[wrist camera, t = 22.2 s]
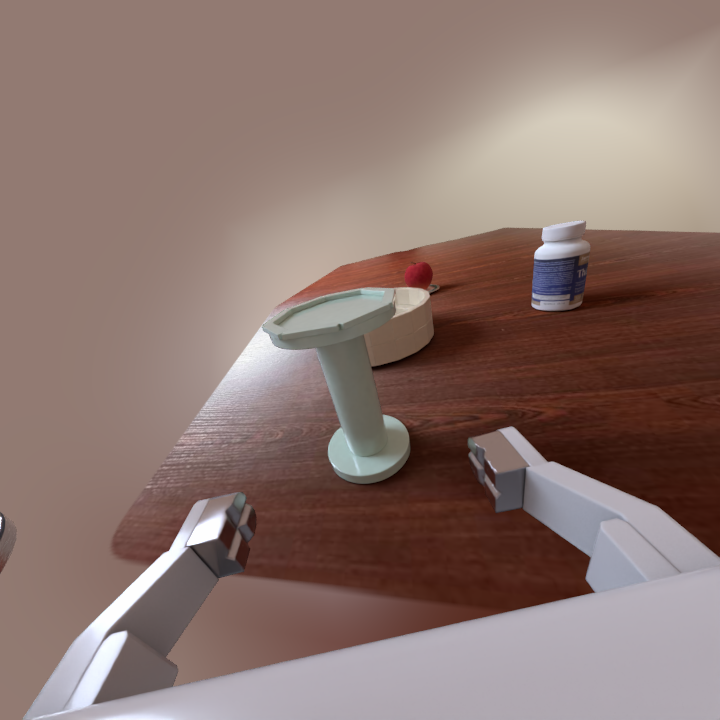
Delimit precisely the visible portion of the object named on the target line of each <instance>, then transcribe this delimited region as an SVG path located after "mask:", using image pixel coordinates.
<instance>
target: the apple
mask: <svg viewBox="0 0 720 720" xmlns="http://www.w3.org/2000/svg"><path fill="white" fill-rule="evenodd" d="M411 263H413V262H411ZM432 276H433V273H432V269H431V267H430V266H429V264H427V263H425V262H419V263H417V264H416V263H414V265H411V266H409V267H408V268H407V270H406V272H405V282H406V284H407V286H408V287H412V288H421V289H424V290H426V291H428V292H429V293H431V292H434V291H436V290H438V289H439V286H438V285H430V283H431V280H432Z"/></svg>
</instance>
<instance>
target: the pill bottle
mask: <svg viewBox="0 0 720 720" xmlns="http://www.w3.org/2000/svg"><path fill="white" fill-rule="evenodd" d="M585 227H586V221H573V222H567V223H561V224H556V225H552V226H548V227H545V228H543V233H542V241H544V245H543V246H541V247H540V248H538V249H537V250H536V252H535V256H534V270H533V271H534V272H533V287H532V306H533V307H534V308H535V309H538V310H542V311H564V310H570V309H573V308H576V307H578V306H580V305H581V303H582V299H583V294H584V287H585V281H586V274H587V267H588V261H589V254H590V244H589V243H588V242H587V241H584V240H582V239H581V237H582V235H584V232H585Z"/></svg>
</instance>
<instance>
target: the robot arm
mask: <svg viewBox="0 0 720 720" xmlns="http://www.w3.org/2000/svg"><path fill="white" fill-rule="evenodd" d="M468 446H469V448H470V450H471V452H470V453H469V463H470V466H471V470H472V472H473V474H474V476H475V478H476V480H477V482H478V483H480V484H481V485H483V486H485V495H486V497H487V499H488V500H489V502H490V504H491V505H492V507H493V509H494V510H495V512H496V513H499V512H504V511H509V510H514V509H519V508H523V510H525V511H526V512H528V513H529V514H530V515H532V516H533V517H535V518H536V519H538V520H539V521H540V522H542V523H543V524H545V525H546V526H547V527H549V528H550V529H552V530H553V531H554V532H556V533H557V534H559V535H560V536H561V537H563V538H564V539H566V540H567V541H569V542H570V543H571V544H573V545H574V546H576V547H577V548H578V549H580V550H581V551H583V552H584V553H585V554H587V555H588V556H590V557H591V559H590V563H589V566H588V570H587V574H586V580H587V582H588V583H589V585H590V586H591V587H592V589H593V590H594V591H595V593H591V594H586V595H582V596H578V597H573V598H569V599H564V600H560V601H555V602H551V603H546V604H542V605H537V606H533V607H528V608H524V609H519V610H515V611H510V612H506V613H501V614H497V615H493V616H488V617H483V618H479V619H474V620H470V621H465V622H461V623H456V624H452V625H448V626H443V627H438V628H434V629H429V630H425V631H421V632H416V633H412V634H407V635H402V636H398V637H394V638H389V639H385V640H381V641H376V642H371V643H367V644H362V645H358V646H353V647H349V648H344V649H340V650H335V651H331V652H326V653H322V654H317V655H313V656H308V657H304V658H300V659H295V660H290V661H286V662H281V663H277V664H273V665H268V666H264V667H259V668H254V669H250V670H246V671H241V672H237V673H232V674H228V675H223V676H219V677H214V678H210V679H205V680H201V681H196V682H192V683H187V684H183V685H179V686H174V687H173V684H174V681H175V679H176V676H177V673H178V668H177V665H175V664H174V663H173V662H171V661H170V660H168V659H167V658H166V656H167V655H168V653H169V652H170V650H171V649H172V647H173V646H174V644H175V643H176V642H177V640H178V638H179V637H180V636H181V634H182V633H183V631H184V630H185V628H186V627H187V626H188V624H189V623H190V621H191V620H192V618H193V617H194V615H195V614H196V612H197V611H198V610H199V608H200V607H201V605H202V604H203V602H204V601H205V599H206V598H207V596H208V595H209V593H210V592H211V591H212V589H213V588H214V586H215V585H216V583H217V582H218V580H219V579H218V578H221V577H225V576H229V575H233V574H236V573H240V572H244V569H245V566H246V562H247V559H248V555H249V551H250V547H249V545H248V542H249V541H250V540H251V538H252V537H253V536H254V533H255V529H256V513H255V510H254V509H253V507H252V506H251V505H249V504H246V503H245V502H246V499H247V498H246V496H245V495H244V493H243V492H237V493H232V494H228V495H223V496H218V497H213V498H210V499H205V500H200V501H198V502H197V503H196V504H194V506H193V507H192V509H191V511H190V513H189V515H188V517H187V519H186V520H185V522H184V524H183V526H182V528H181V530H180V531H179V533H178V535H177V537H176V539H175V541H174V543H173V544H172V546H171V548H170V550H169V551H168V552H164V553H163V554H162V555H161V556H160V557H159V558H158V559H157V560H156V561H155V562H154V563H153V564H152V565H151V566H150V567H149V568H148V569H147V570H146V571H145V572H144V573H143V574H142V575H141V576H140V577H139V578H138V579H137V580H136V581H135V582H133V584H131V585H130V586H129V587H128V588H127V589H126V590H125V591H124V592H123V593H122V594H121V595H120V596H119V597H118V598H117V599H116V600H115V601H114V602H113V603H112V604H111V605H110V606H109V607H108V608H107V609H106V610H105V611H104V612H103V613H102V614H101V615H100V616H99V617H98V618H97V619H96V620H95V621H94V622H93V623H91V624H90V625H89V627H87V628H86V629H85V630H84V631H83V632H82V633H81V634H80V635H79V636H78V637H77V638H76V639H75V640H74V641H73V643H72V645H71V646H70V648H69V649H68V651H67V652H66V654H65V655H64V657H63V658H62V660H61V662H60V663H59V665H58V666H57V667H56V669H55V671H54V672H53V674H52V675H51V677H50V678H49V680H48V681H47V683H46V684H45V686H44V687H43V689H42V690H41V692H40V693H39V695H38V697H37V698H36V700H35V701H34V703H33V704H32V706H31V707H30V709H29V710H28V712H27V713H26V715H25V716H24V718H23V719H22V720H720V558H719V557H718V556H717V555H716V554H715V553H713V552H712V551H711V550H710V549H709V548H707V547H706V546H705V545H704V544H703V543H701V542H700V541H699V540H698V539H697V538H695V537H694V536H693V535H692V534H690V533H689V532H688V531H687V530H686V529H684V528H683V527H682V526H681V525H680V524H678V523H677V522H676V521H675V520H674V519H672V518H671V517H670V516H669V515H668V514H666V513H665V512H664V511H663V510H662V509H660V508H659V507H657V506H655V505H652V504H650V503H648V502H646V501H643V500H641V499H639V498H636V497H634V496H632V495H629V494H627V493H625V492H622V491H620V490H618V489H616V488H613V487H611V486H609V485H606V484H604V483H602V482H599V481H597V480H595V479H592V478H590V477H588V476H586V475H583V474H581V473H579V472H576V471H574V470H572V469H569V468H567V467H565V466H562V465H560V464H558V463H556V462H553V461H552V462H547V461H546V460H545V459H544V457H543V456H542V455H541V454H540V453H539V452H538V451H537V450H536V449H535V448H534V447H533V446H532V445H531V444H530V443H529V442H528V441H527V440H526V439H525V438H524V437H523V436H522V435H521V434H520V433H519V432H518V431H517V430H516V429H515V428H514V427H512V426H511V427H507V428H503V429H499V430H497V431H496V430H495V431H491V432H487V433H483V434H479V435H475V436H471V437H468Z"/></svg>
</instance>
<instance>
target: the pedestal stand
mask: <svg viewBox="0 0 720 720" xmlns="http://www.w3.org/2000/svg"><path fill="white" fill-rule="evenodd" d="M395 295H396V292H395V289H393V288H368V287H366V288H359V289H354V290H349V291H344V292H339V293H334V294H329V295H325V296H321V297H318V298H315V299H313V300H310V301H307V302H304V303H301V304H299V305H296V306H293V307H290V308H287V309H286V310H283V311H282V312H280V313H279V314H277V315H276V316H275V317H273V318H272V319H270V320H269V321H268V322H266V323H265V324H263V326H262V328H263V331H264V332H266V333H268V334H269V336H270V338H271V340H272V343H273V344H274V345H275V346H276V347H279V348H282V349H289V350H300V349H311V348H315V349H316V352H317V355H318V358H319V362H320V365H321V368H322V371H323V374H324V377H325V380H326V383H327V386H328V389H329V392H330V395H331V398H332V401H333V404H334V407H335V410H336V413H337V416H338V419H339V422H340V425H341V427H340V428H339V429H338V430H337V431H336V433H335V434H334V435H333V437H332V438H331V440H330V443H329V446H328V457H329V460H330V463H331V465H332V467H333V469H334V471H335V472H336V473H337V474H338V475H339V476H340V477H341V478H343V479H345V480H347V481H349V482H352V483H357V484H370V483H375V482H379V481H382V480H384V479H387V478H389V477H390V476H392V475H394V474H395V473H396V472H397V471H399V470H400V469H401V468H402V466H403V465H404V464H405V462H406V461H407V459H408V456H409V454H410V448H411V445H410V438H409V434H408V431H407V429H406V427H405V426H404V425H403V424H402V423H401V422H400V421H399V420H397V419H395V418H393V417H391V416H387V415H383V414H382V409H381V405H380V401H379V397H378V392H377V388H376V384H375V380H374V375H373V371H372V367H371V362H370V358H369V354H368V350H367V345H366V341H365V337H364V334H366V333H369V332H371V331H373V330H375V329H377V328H379V327H380V326H382V325H384V324H385V323H387V322H388V321H389V320H390V319H391V318H392V317H393V316H394V315H395V313H396V304H395Z"/></svg>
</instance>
